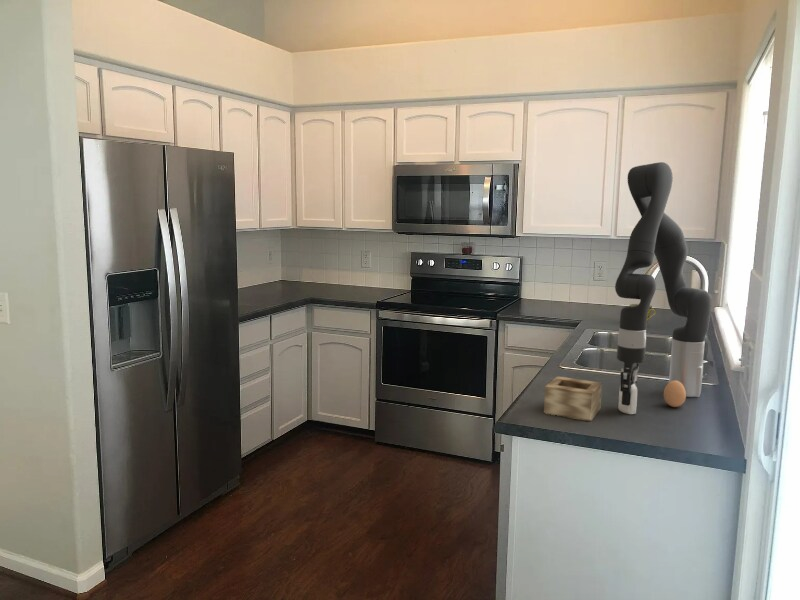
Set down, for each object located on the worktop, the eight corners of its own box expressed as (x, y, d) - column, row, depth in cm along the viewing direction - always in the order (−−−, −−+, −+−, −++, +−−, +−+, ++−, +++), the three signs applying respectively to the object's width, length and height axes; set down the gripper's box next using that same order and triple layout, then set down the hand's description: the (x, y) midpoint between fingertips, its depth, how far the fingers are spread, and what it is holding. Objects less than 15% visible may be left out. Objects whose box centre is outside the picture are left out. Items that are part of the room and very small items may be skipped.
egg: (659, 406, 190) (661, 380, 189) (666, 402, 195) (668, 376, 193) (681, 411, 186) (683, 384, 185) (687, 406, 191) (689, 380, 190)
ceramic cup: (623, 325, 310) (625, 305, 308) (636, 323, 316) (637, 303, 314) (648, 330, 300) (649, 308, 298) (660, 327, 305) (662, 306, 304)
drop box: (600, 409, 187) (602, 382, 186) (590, 421, 177) (591, 393, 176) (556, 402, 194) (557, 376, 192) (543, 413, 183) (545, 386, 182)
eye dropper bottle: (620, 414, 183) (623, 373, 181) (617, 408, 189) (620, 368, 187) (636, 415, 183) (639, 374, 181) (633, 409, 188) (636, 368, 186)
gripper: (641, 351, 175) (636, 411, 177) (650, 340, 187) (645, 397, 190) (612, 347, 178) (608, 407, 181) (623, 337, 190) (619, 393, 193)
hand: (627, 401), depth 185 cm, fingers closed on eye dropper bottle, 5 cm apart
